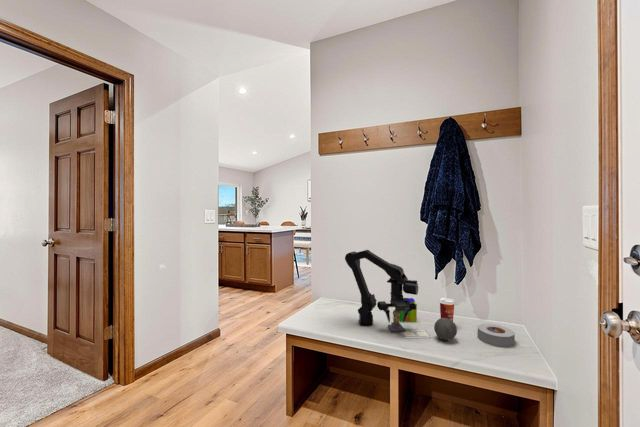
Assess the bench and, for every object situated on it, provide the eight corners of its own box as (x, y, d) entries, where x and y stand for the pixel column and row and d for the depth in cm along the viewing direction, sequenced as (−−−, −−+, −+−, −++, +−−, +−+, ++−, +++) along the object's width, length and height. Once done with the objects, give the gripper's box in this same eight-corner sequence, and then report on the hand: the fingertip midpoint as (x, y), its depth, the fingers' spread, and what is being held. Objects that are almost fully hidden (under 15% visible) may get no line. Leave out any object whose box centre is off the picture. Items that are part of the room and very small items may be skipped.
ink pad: (391, 332, 155) (391, 329, 155) (387, 327, 162) (387, 324, 162) (405, 332, 155) (405, 329, 155) (400, 326, 162) (400, 323, 162)
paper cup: (447, 330, 158) (448, 303, 157) (435, 324, 165) (436, 298, 164) (458, 327, 162) (458, 300, 161) (445, 322, 169) (446, 296, 168)
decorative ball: (436, 343, 144) (436, 321, 143) (432, 334, 154) (432, 314, 153) (459, 344, 142) (459, 323, 142) (453, 335, 152) (454, 315, 152)
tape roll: (493, 331, 157) (493, 321, 157) (522, 344, 143) (522, 333, 143) (470, 335, 152) (470, 325, 152) (497, 350, 138) (498, 338, 137)
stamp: (393, 328, 156) (393, 311, 156) (391, 325, 160) (391, 308, 160) (401, 328, 157) (401, 311, 156) (398, 325, 161) (399, 308, 160)
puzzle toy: (412, 315, 179) (413, 298, 178) (416, 322, 169) (416, 304, 168) (395, 314, 180) (395, 297, 179) (397, 321, 170) (398, 303, 169)
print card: (405, 338, 149) (405, 337, 149) (400, 331, 157) (400, 330, 157) (432, 337, 150) (432, 337, 150) (425, 330, 157) (425, 330, 157)
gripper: (382, 297, 149) (382, 329, 150) (420, 296, 150) (420, 328, 151) (377, 290, 160) (376, 320, 161) (412, 289, 161) (412, 319, 162)
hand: (396, 321), depth 158 cm, fingers open, 7 cm apart
